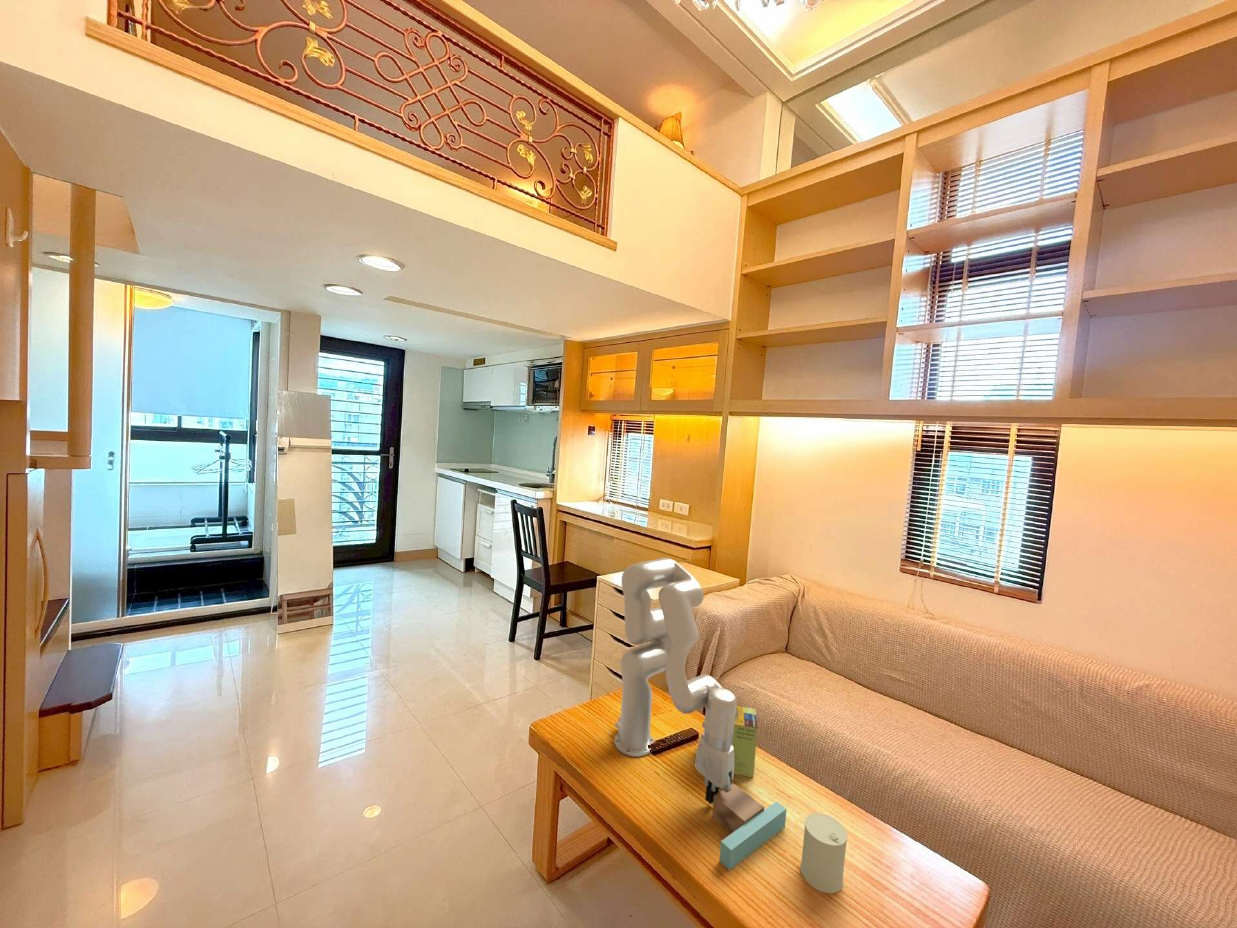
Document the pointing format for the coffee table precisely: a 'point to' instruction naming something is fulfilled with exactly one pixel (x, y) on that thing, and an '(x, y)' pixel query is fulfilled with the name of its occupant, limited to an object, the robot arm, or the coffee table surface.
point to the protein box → (744, 741)
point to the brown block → (734, 808)
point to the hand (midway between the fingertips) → (711, 799)
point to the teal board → (752, 835)
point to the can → (823, 853)
